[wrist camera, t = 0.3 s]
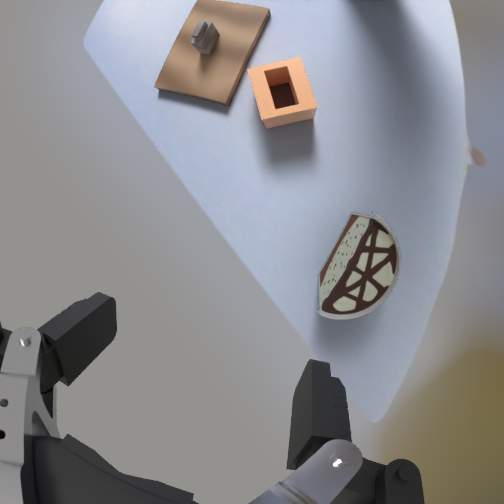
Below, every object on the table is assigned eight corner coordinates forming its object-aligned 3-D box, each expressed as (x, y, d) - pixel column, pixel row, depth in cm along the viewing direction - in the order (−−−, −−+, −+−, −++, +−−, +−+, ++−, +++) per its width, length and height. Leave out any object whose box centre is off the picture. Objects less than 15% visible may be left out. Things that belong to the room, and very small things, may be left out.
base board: (201, 3, 28) (186, -18, 21) (270, 13, 27) (265, -11, 21) (158, 89, 33) (135, 77, 26) (228, 105, 32) (214, 92, 26)
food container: (350, 300, 37) (364, 340, 28) (312, 282, 37) (317, 319, 28) (394, 224, 33) (425, 242, 24) (356, 201, 33) (378, 213, 24)
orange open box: (254, 84, 31) (246, 69, 25) (299, 74, 30) (300, 57, 24) (267, 128, 32) (261, 119, 27) (313, 118, 31) (316, 107, 25)
